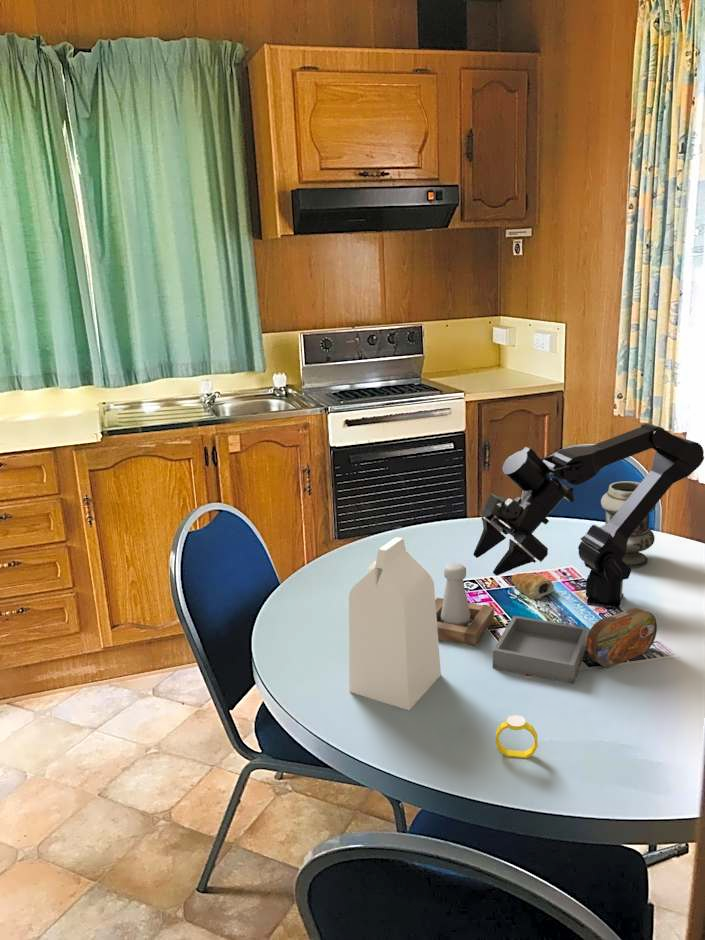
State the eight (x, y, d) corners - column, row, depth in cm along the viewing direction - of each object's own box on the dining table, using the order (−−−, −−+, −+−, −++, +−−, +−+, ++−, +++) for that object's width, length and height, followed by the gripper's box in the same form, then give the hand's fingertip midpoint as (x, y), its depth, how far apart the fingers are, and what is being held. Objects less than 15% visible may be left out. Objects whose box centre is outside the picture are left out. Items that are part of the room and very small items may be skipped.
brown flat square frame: (493, 618, 153) (494, 607, 153) (475, 646, 143) (475, 634, 142) (437, 608, 158) (437, 597, 158) (416, 635, 148) (415, 623, 148)
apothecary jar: (607, 546, 186) (611, 475, 181) (659, 555, 179) (664, 482, 174) (590, 563, 177) (594, 489, 172) (644, 574, 170) (649, 497, 165)
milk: (408, 710, 125) (404, 563, 117) (349, 691, 131) (341, 550, 123) (441, 674, 134) (438, 536, 127) (384, 659, 140) (378, 526, 133)
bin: (587, 645, 142) (588, 628, 141) (573, 683, 130) (573, 665, 129) (513, 631, 148) (513, 615, 147) (492, 667, 136) (492, 650, 135)
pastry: (504, 585, 168) (504, 569, 167) (527, 578, 171) (527, 562, 170) (533, 601, 160) (533, 584, 159) (557, 593, 163) (558, 577, 162)
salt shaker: (469, 634, 147) (469, 572, 144) (439, 633, 149) (438, 571, 145) (471, 620, 153) (470, 560, 149) (442, 619, 154) (441, 559, 150)
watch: (496, 761, 112) (493, 725, 110) (497, 749, 114) (494, 714, 113) (538, 762, 111) (536, 726, 109) (538, 750, 113) (535, 715, 112)
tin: (595, 673, 133) (597, 629, 130) (582, 664, 135) (584, 622, 133) (657, 649, 139) (660, 607, 137) (643, 642, 142) (646, 600, 139)
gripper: (490, 467, 154) (439, 525, 154) (534, 494, 137) (476, 559, 137) (525, 499, 158) (475, 556, 159) (572, 529, 141) (516, 593, 141)
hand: (484, 565), depth 149 cm, fingers open, 9 cm apart
